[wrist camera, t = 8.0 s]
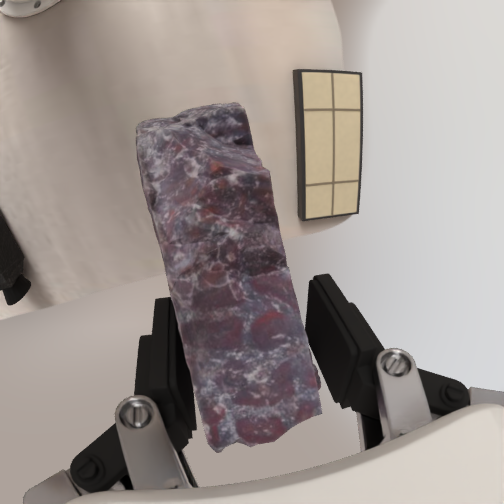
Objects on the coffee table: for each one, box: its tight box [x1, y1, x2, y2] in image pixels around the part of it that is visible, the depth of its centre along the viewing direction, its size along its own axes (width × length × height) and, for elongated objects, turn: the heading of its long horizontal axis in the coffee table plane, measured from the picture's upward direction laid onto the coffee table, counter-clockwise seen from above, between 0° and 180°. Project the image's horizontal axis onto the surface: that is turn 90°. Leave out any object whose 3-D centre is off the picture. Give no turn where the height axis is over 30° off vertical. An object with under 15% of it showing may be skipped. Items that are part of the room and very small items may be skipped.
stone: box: [136, 103, 322, 453], centre depth 11 cm, size 10×6×15 cm
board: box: [293, 69, 363, 221], centre depth 29 cm, size 16×7×2 cm, turn 4°
